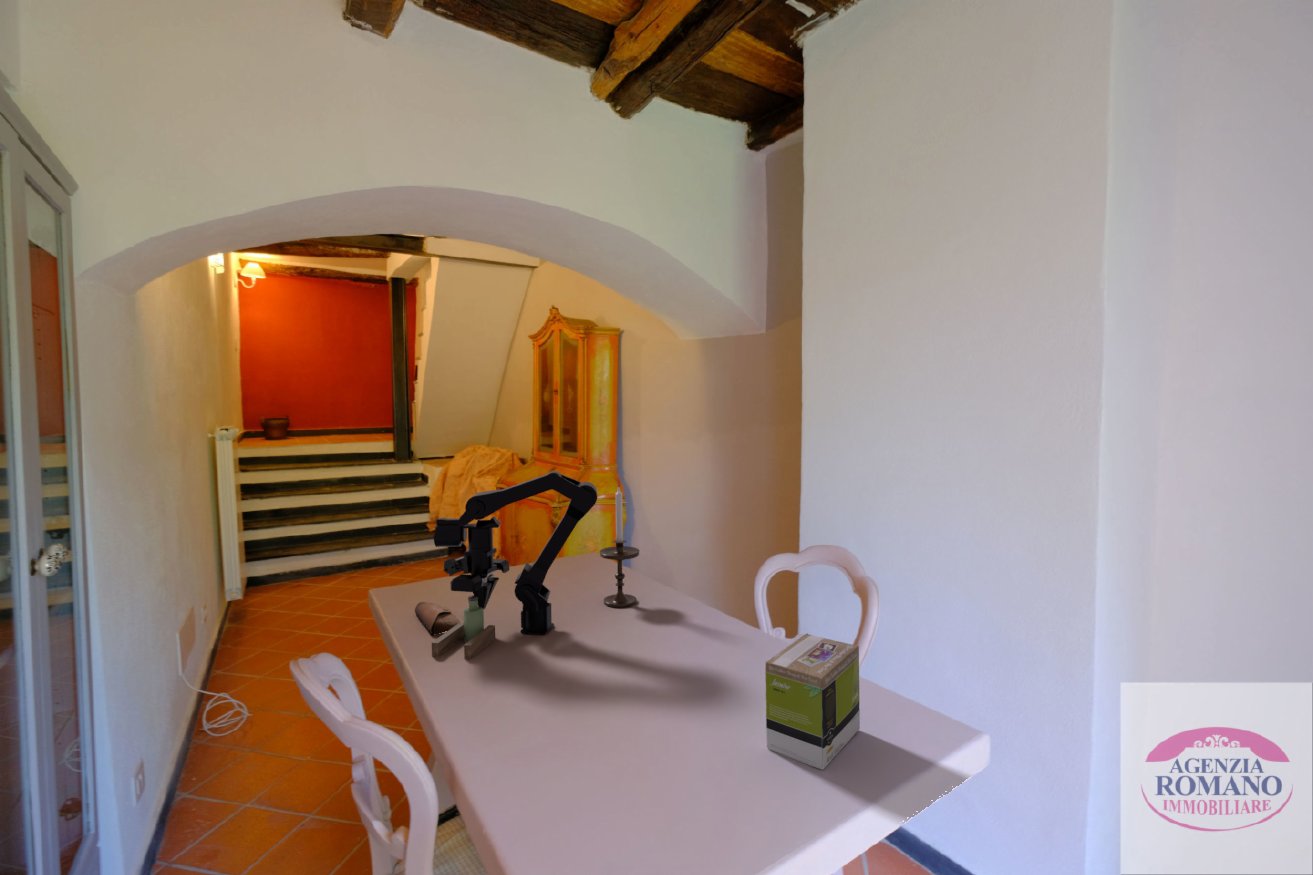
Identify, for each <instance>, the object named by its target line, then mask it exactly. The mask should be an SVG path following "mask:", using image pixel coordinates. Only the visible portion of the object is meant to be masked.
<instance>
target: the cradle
mask: <svg viewBox="0 0 1313 875" xmlns="http://www.w3.org/2000/svg"><path fill="white" fill-rule="evenodd" d="M462 639H464V622H460V623H458V624H457V625H456V626H454V627H453V628H451V629H450V630H449V631H447V632H446V633H443V634H441V635H440V636H439V637H437V638H436V639H434V640H433V641H432V642H431V656H432V657H440V656H441V655H442V654H444V653H445V652H447V651H448V650H449V649H450V648H451V647H453V646H454V645H455V644H456V643H458V642H460V641H461V640H462ZM495 639H496V625H495V624H488V625H487V626H486V627H484V630H482V631H481V632H480V633H479V634H477V635H476V636H475V637H473V638H472V639H471V640H470V641H468V642H465V644H464V645H463V650H464V652H463V654H464V655H463V656H464V659H466V660H471V659H473V658H474V657H475V656H476V655H478V654H479V653H480V652H481V651H482V650H483V649H485V648H486V645H487V644H488V645H490V643H491V642H492V641H494V640H495ZM457 641H458V642H457ZM453 644H454V645H453ZM452 645H453V646H452ZM488 645H487V646H488Z"/></svg>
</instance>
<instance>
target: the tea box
mask: <svg viewBox="0 0 1313 875" xmlns="http://www.w3.org/2000/svg"><path fill="white" fill-rule="evenodd" d="M859 647H860V646H859V645H856V644H851V643H847V642H842V641H838V640H834V639H831V638H826V637H823V636H822V637H821V636H817V635H812V634H808V633H805V634H803V635H802V636H801V637H799V638H798V639H796V640H795V641H793V643H791V644H789V645H788V646H786V647H785V648H783V649H782V650H780V651H779V652H778V653H776V654H775V655H773V656H772V657H771V658H770V659H768V660H766V661H765V667H764V668H765V670H764V671H765V672H764V674H765V676H764V677H765V719H766V721H765V722H766V724H765V735H766V736H765V738H766V748H767V749H768V750H770V751H771V752H772V751H773V752H775V753H777V754H779V755H782V756H785V757H788V758H789V759H792V760H794V761H796V762H799V763H802V764H805V765H807V766H810V767H813V768H816V769H818V770H821V771H823V770H824V769H826V767H827V766H828V765H829V764H830V762H831V761H832V760H833V759H834V758H835V757H836V756H837V755H838V754H839V752H840V751H841V750H842V749H843V748H844V747H845V746H846V745H847V743H849V741H850V740H851V739H852V738H853V737H854V736H855V735H856V733H857V732H859V730H860V729H861V726H860V725H861V722H860V719H861V717H860V714H861V713H860V711H861V710H860V652H859V651H860V648H859Z"/></svg>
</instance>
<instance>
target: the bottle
mask: <svg viewBox="0 0 1313 875" xmlns="http://www.w3.org/2000/svg"><path fill="white" fill-rule="evenodd" d="M467 600H468V607H466V608H465V609H463V611H462V612H463V614H462V615H463V623H464V637H463V641H464V642H465V641H466V642H465V643H467V642H468V641H470V640H471V639H472V638H473V637H475V636H476V635H477V634H479V633H480V632H481V631H482V630H484V629H485V609H484V608H482V607H478V596H477V595H474V594H473V595H469V596H468V597H467Z"/></svg>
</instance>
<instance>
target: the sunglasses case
mask: <svg viewBox="0 0 1313 875" xmlns="http://www.w3.org/2000/svg"><path fill="white" fill-rule="evenodd" d="M414 614H415V615H416V616H417V617H418V619H420V620H421V622H422V623H423V625H424V626H425V627H426V628H427V630H428V631H429V633H431V635H433V636H435V635H434V634H438V635H440V634H439V633H442V632H445V631H449V630H450V629H451V628H453V627H454V626H456V625H457V624H458V623H461V622H460V620H459V619H458V618H457V617H456V616H455V615H454V614H453V612H452V611H451V610H450V609H449V607H446V606H442V605H440V604H436V603H432V602H429V601H420V602H418V603H417V604H416V606H415V607H414Z"/></svg>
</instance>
